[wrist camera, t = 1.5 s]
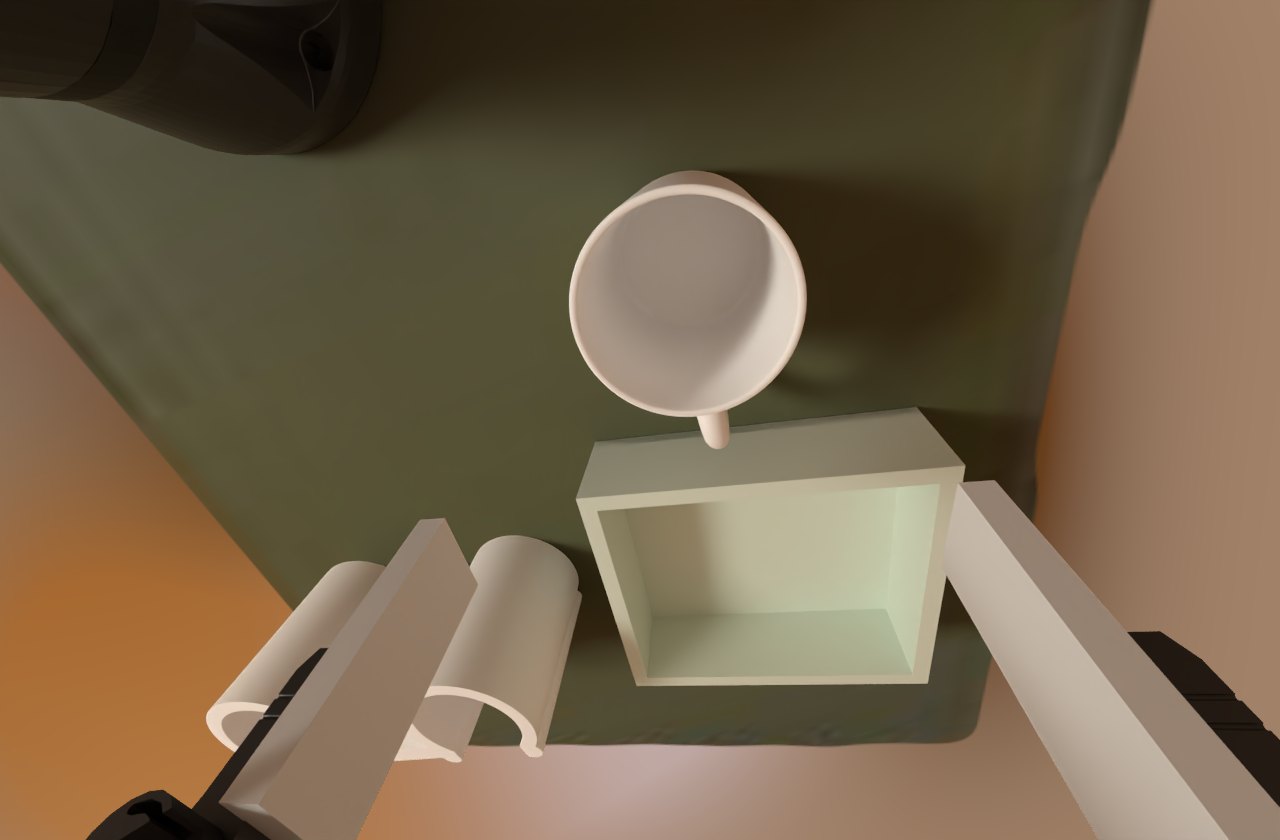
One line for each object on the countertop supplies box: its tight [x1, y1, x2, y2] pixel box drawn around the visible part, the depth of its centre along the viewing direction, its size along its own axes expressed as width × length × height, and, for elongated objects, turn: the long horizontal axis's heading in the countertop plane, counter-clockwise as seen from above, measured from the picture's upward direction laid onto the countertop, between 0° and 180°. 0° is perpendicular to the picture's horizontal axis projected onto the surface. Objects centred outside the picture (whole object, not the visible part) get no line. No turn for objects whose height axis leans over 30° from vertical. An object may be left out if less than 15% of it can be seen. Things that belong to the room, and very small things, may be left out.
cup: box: [569, 171, 807, 449], centre depth 22 cm, size 8×12×10 cm
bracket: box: [206, 535, 582, 762], centre depth 36 cm, size 25×10×12 cm, turn 109°
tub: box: [576, 407, 965, 686], centre depth 32 cm, size 18×20×6 cm
